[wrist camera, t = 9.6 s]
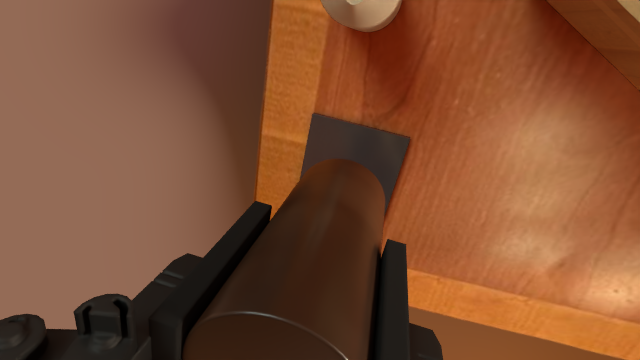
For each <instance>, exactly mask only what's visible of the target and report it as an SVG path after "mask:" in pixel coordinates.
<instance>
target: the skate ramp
mask: <svg viewBox="0 0 640 360" xmlns="http://www.w3.org/2000/svg"><path fill="white" fill-rule="evenodd" d="M546 1H547V2H548V3H549V4H550V5H551V6H552V7H553V8H554V9H555V10H556V11H557V12H558V13H559V14H560V15H561V16H562V17H564V18H565V19H566V20H567V21H568V22H569V23H570V24H571V25H572V26H573V27H574V28H575V29H576V30H577V31H578V32H579V33H580V34H581V35H582V36H583V37H584V38H585V39H586V40H587V41H588V42H589V43H591V44H592V45H593V46H594V47H595V48H596V49H597V50H598V51H599V52H600V53H601V54H602V55H603V56H604V57H605V58H606V59H607V60H608V61H609V62H610V63H611V64H612V65H613V66H614V67H615V68H617V69H618V70H619V71H620V72H621V73H622V74H623V75H624V76H625V77H626V78H627V79H628V80H629V81H630V82H631V83H632V84H633V85H634V86H635V87H636V88H637V89H638V90H639V91H640V23H639V22H640V0H617V1H618V2H617V1H616V0H546ZM629 12H630V13H631V14H632V15H633V16H634V17H635V18H636V19H637V20H638V21H639V22H638V21H637V20H636V19H635V18H634V17H633V16H632V15H631V14H630V13H629Z"/></svg>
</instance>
